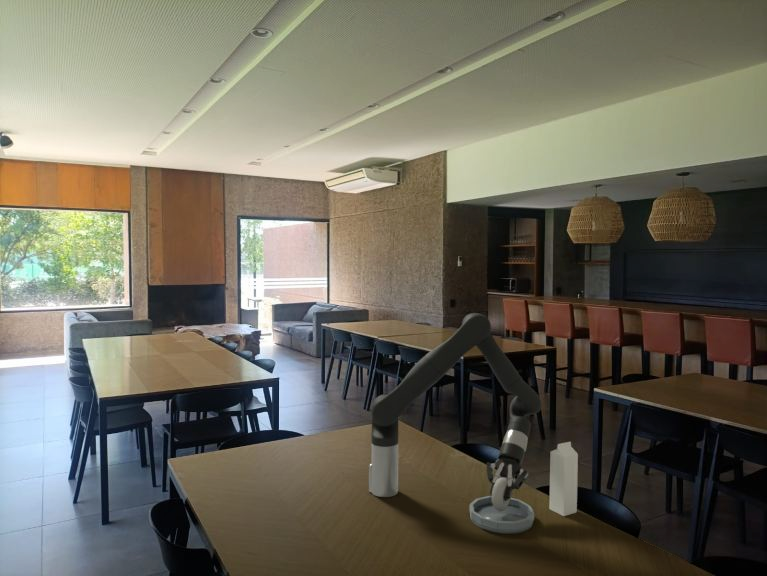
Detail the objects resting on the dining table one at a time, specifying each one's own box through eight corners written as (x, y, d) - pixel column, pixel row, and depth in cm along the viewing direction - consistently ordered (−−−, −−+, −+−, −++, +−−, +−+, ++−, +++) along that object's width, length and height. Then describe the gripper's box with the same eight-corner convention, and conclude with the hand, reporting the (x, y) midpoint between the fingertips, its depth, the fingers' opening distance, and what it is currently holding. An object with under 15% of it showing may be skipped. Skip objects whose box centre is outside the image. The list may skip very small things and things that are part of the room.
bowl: (459, 522, 169) (459, 512, 169) (484, 500, 185) (484, 491, 185) (520, 539, 159) (520, 528, 159) (541, 515, 175) (541, 505, 175)
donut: (500, 517, 167) (500, 484, 167) (490, 514, 169) (489, 482, 168) (512, 505, 175) (512, 474, 175) (502, 503, 177) (502, 472, 177)
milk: (576, 512, 177) (578, 444, 176) (563, 516, 174) (565, 447, 173) (562, 505, 182) (563, 438, 181) (548, 509, 179) (550, 441, 178)
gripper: (489, 437, 181) (474, 487, 172) (532, 445, 174) (518, 497, 164) (495, 449, 186) (480, 498, 176) (537, 457, 178) (524, 509, 169)
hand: (499, 497), depth 170 cm, fingers closed on donut, 3 cm apart
